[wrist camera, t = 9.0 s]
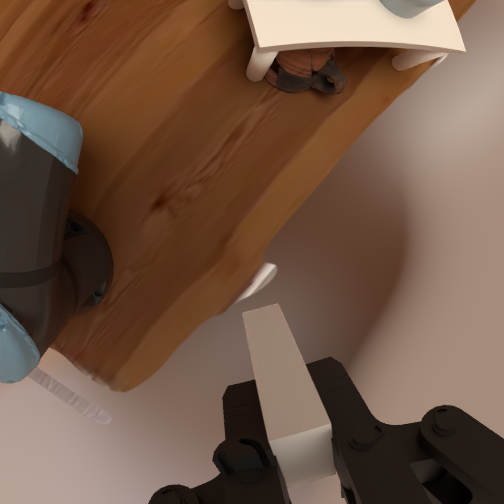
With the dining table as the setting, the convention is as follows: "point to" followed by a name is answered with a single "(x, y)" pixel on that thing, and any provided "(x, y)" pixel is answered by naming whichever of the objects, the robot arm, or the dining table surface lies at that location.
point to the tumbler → (408, 6)
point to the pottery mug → (307, 71)
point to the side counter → (346, 30)
